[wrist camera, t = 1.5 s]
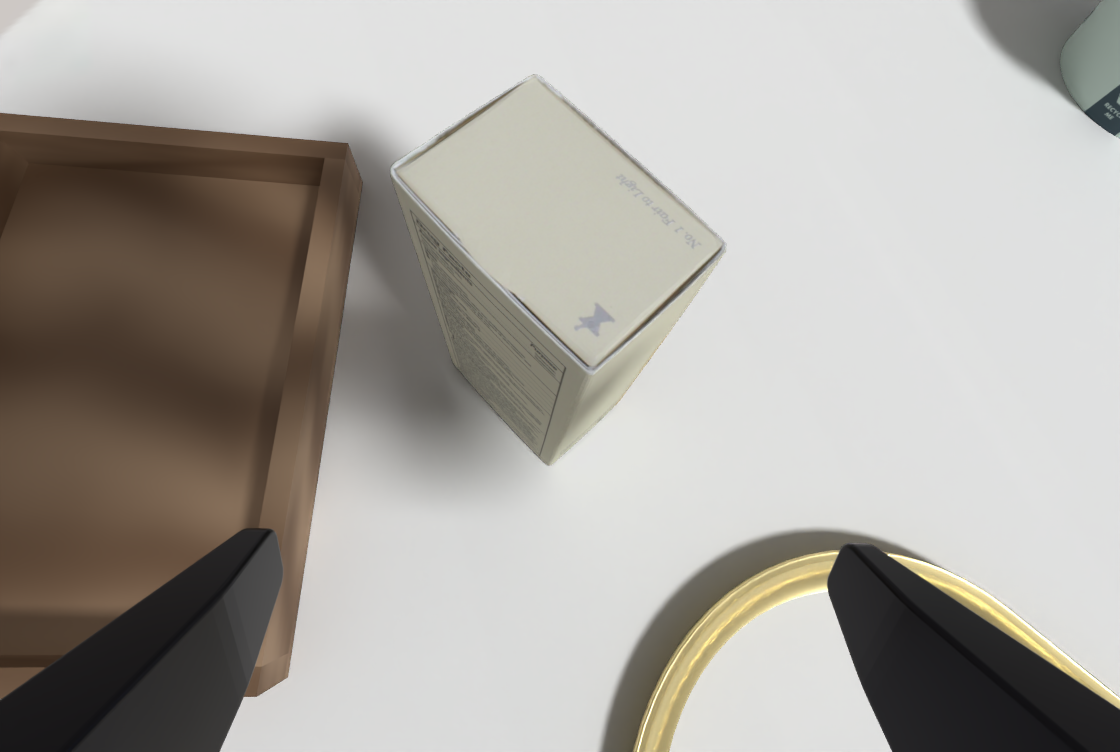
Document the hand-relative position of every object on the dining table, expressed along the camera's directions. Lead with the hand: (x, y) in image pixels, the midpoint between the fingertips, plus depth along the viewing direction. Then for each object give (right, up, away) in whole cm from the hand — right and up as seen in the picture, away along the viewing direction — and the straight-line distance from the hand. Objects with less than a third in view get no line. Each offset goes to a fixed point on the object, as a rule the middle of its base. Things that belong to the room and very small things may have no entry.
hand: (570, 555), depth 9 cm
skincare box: (-1, +3, +14) cm, 14 cm away
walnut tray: (-16, +2, +12) cm, 20 cm away
